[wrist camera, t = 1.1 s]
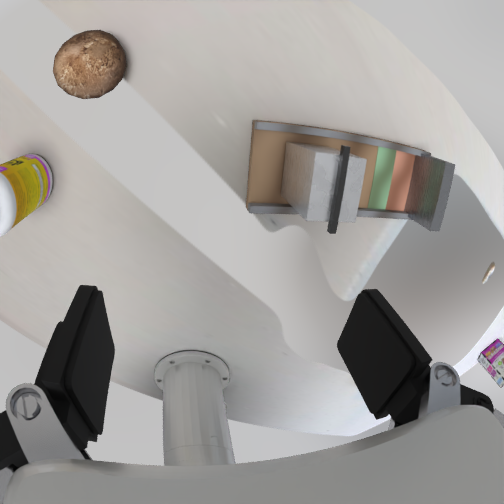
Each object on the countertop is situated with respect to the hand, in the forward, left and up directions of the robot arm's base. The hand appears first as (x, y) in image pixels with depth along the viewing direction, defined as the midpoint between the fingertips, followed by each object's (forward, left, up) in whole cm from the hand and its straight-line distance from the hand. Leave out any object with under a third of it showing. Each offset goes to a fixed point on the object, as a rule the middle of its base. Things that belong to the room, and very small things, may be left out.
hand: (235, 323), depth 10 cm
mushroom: (+17, +4, -24) cm, 30 cm away
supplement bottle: (+11, +18, -24) cm, 32 cm away
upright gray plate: (-13, -25, -23) cm, 36 cm away
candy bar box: (-93, -59, -24) cm, 112 cm away
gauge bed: (-7, -15, -24) cm, 29 cm away
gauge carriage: (-4, -10, -22) cm, 25 cm away
